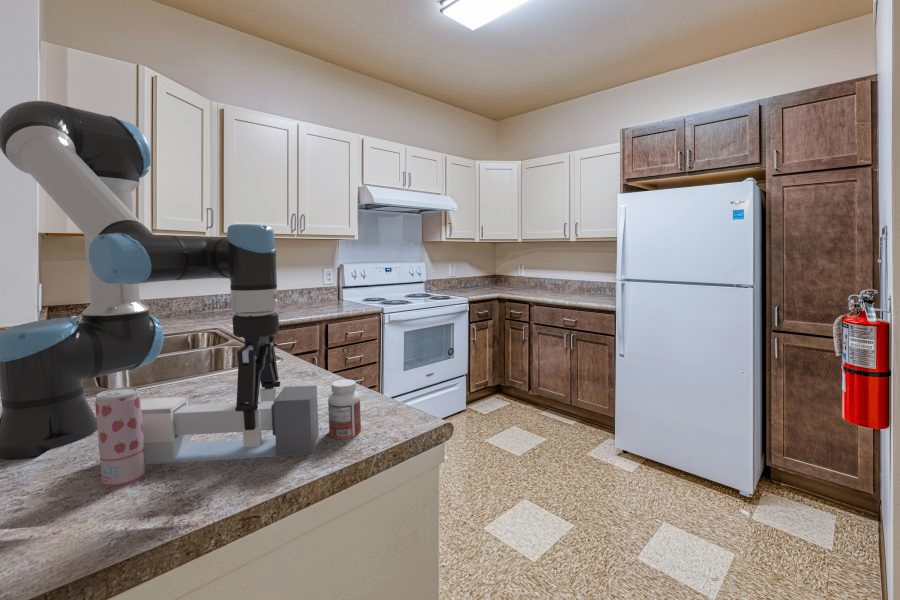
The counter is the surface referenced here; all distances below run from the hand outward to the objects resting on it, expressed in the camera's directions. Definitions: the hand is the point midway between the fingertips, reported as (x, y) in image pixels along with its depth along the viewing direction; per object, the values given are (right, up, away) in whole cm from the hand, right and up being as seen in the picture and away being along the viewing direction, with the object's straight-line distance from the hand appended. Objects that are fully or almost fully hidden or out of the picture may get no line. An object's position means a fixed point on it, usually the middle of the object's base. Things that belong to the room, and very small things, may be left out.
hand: (261, 432), depth 80 cm
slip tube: (-4, 0, -1) cm, 5 cm away
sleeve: (-18, -3, -2) cm, 18 cm away
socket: (+6, -3, +1) cm, 7 cm away
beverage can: (-18, -5, -10) cm, 21 cm away
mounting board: (-7, -4, 0) cm, 8 cm away
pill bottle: (+14, -3, +7) cm, 16 cm away
